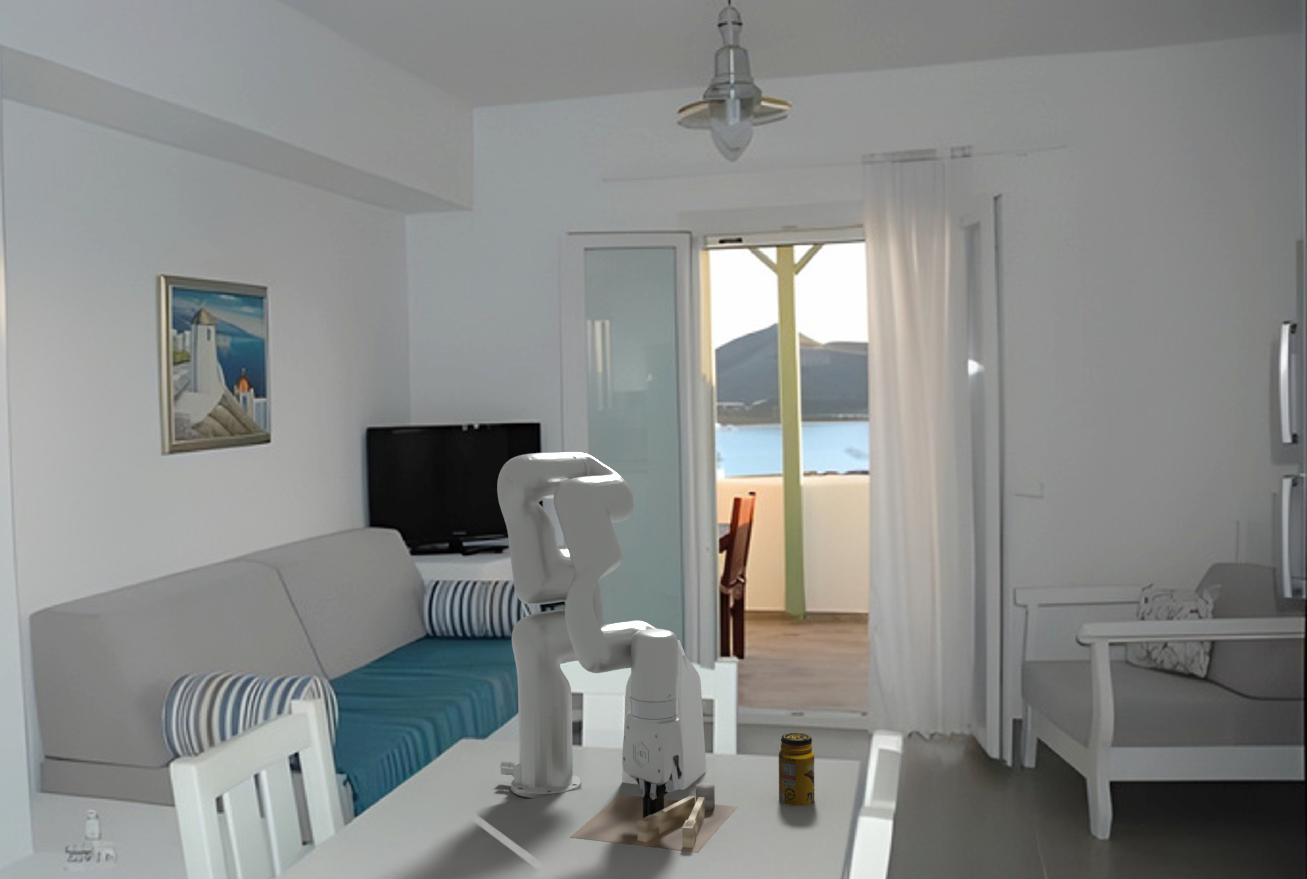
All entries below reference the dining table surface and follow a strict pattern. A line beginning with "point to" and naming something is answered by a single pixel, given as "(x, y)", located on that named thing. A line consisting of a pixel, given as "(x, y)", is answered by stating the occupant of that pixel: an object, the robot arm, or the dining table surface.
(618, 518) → the robot arm
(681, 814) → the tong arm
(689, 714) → the milk
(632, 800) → the board
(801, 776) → the condiment
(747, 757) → the dining table surface
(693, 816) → the beige long slender part
